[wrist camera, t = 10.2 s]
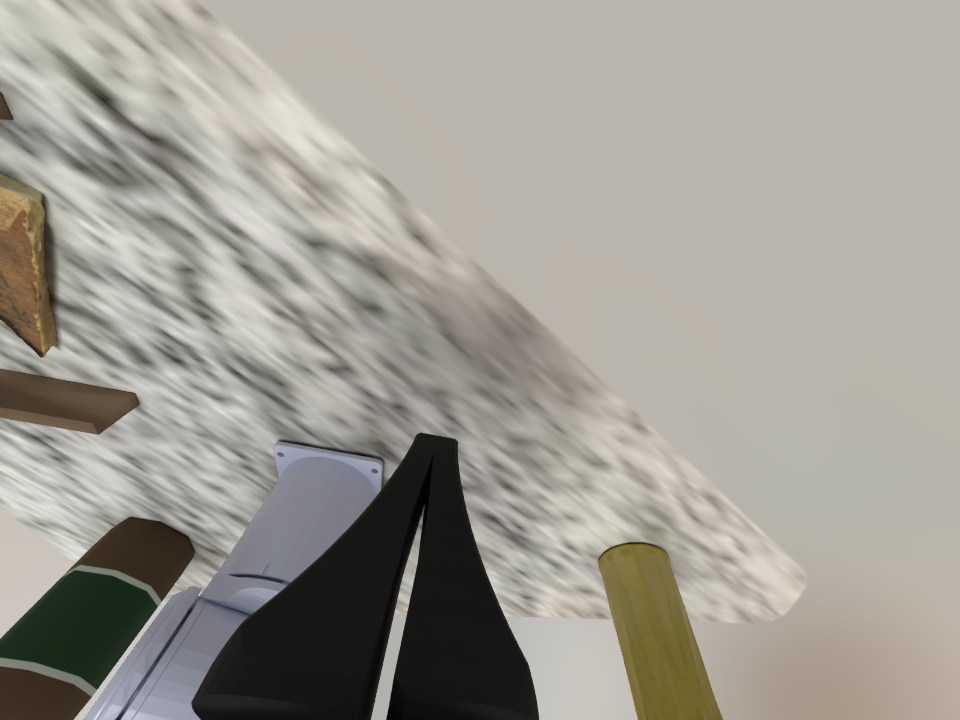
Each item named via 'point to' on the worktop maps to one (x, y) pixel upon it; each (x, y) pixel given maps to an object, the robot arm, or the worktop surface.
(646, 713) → the olive green rod
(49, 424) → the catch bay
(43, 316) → the shard
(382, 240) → the worktop surface
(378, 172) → the worktop surface
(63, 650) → the beer bottle
